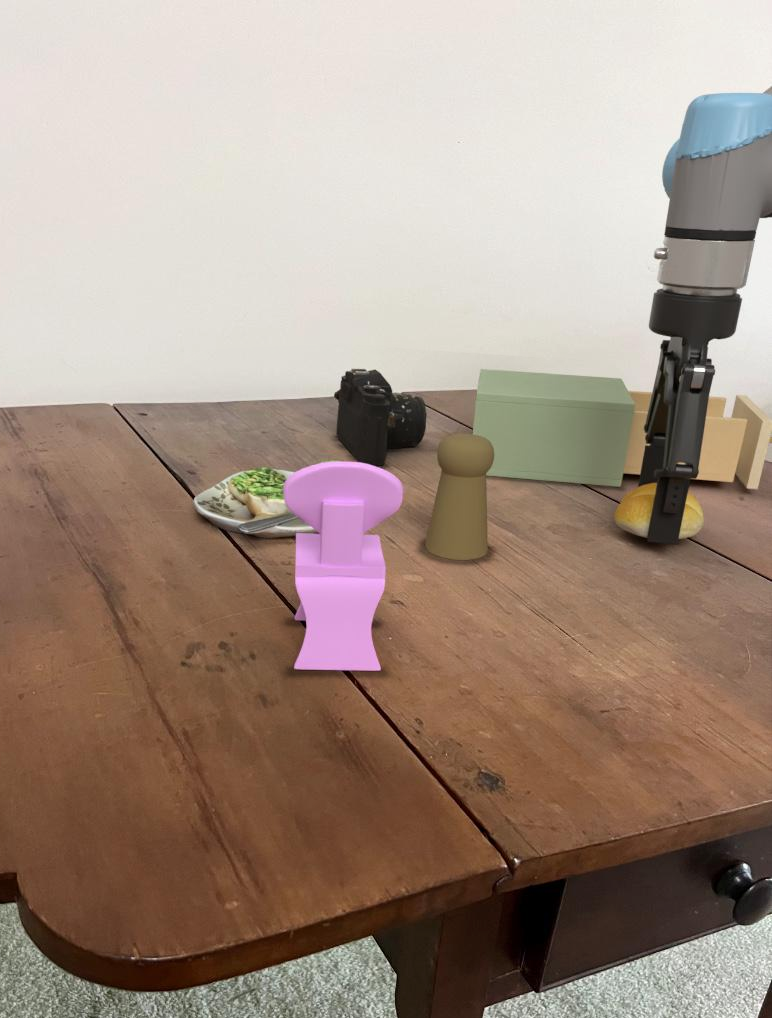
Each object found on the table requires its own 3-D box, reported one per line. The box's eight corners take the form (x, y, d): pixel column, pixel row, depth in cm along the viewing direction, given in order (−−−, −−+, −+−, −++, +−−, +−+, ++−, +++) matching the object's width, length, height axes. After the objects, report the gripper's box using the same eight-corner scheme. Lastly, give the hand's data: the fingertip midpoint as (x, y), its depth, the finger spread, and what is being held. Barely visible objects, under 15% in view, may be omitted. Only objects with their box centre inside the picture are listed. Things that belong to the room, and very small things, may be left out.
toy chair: (384, 617, 74) (397, 435, 68) (394, 671, 66) (409, 470, 60) (282, 615, 74) (284, 432, 68) (279, 669, 66) (282, 467, 60)
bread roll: (607, 534, 90) (613, 495, 88) (623, 507, 97) (629, 471, 96) (696, 549, 87) (704, 509, 85) (705, 520, 94) (713, 483, 92)
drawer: (777, 460, 117) (793, 398, 113) (808, 493, 105) (827, 425, 101) (599, 446, 120) (609, 386, 117) (609, 476, 108) (620, 410, 105)
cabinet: (608, 453, 121) (621, 378, 117) (620, 487, 108) (635, 404, 104) (472, 442, 124) (480, 368, 119) (468, 474, 110) (476, 392, 106)
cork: (487, 562, 85) (501, 447, 81) (422, 556, 86) (432, 442, 82) (488, 539, 91) (500, 430, 86) (427, 534, 92) (436, 425, 87)
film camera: (457, 459, 116) (465, 380, 112) (376, 472, 110) (381, 388, 106) (379, 426, 130) (383, 354, 125) (302, 436, 124) (304, 361, 120)
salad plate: (319, 564, 84) (321, 517, 82) (155, 529, 90) (153, 484, 88) (395, 503, 100) (398, 462, 98) (251, 478, 106) (251, 439, 104)
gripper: (640, 275, 93) (606, 487, 103) (674, 303, 73) (628, 561, 83) (718, 278, 92) (676, 492, 101) (773, 307, 72) (715, 569, 82)
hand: (654, 523), depth 92 cm, fingers closed on bread roll, 9 cm apart
